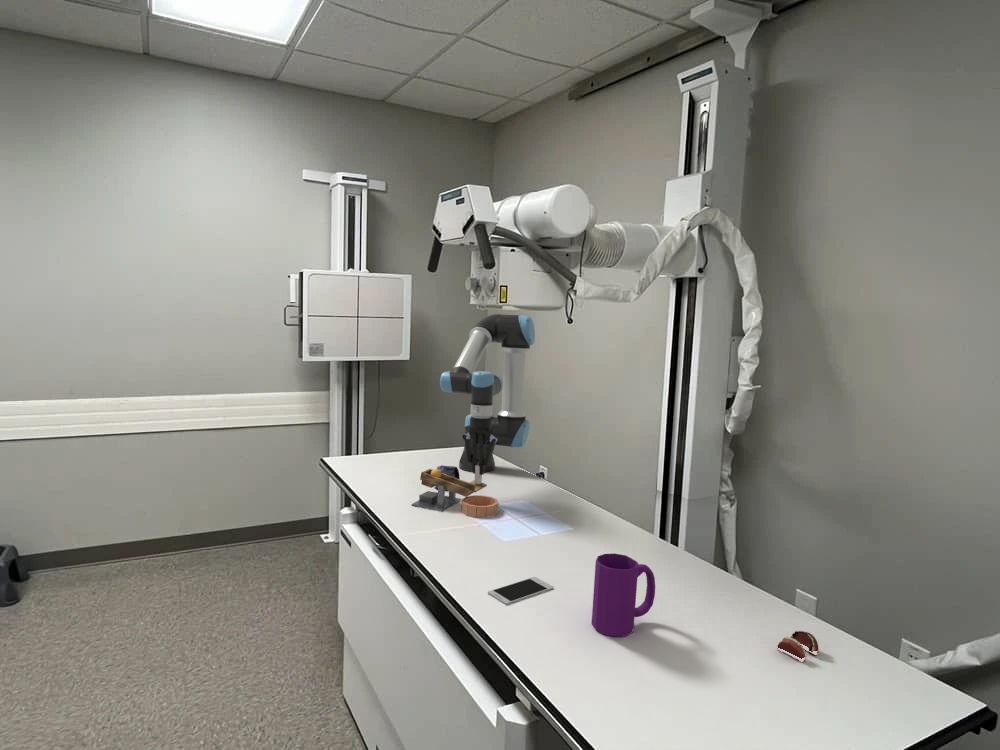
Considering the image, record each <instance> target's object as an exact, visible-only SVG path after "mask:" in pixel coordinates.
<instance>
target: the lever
mask: <svg viewBox="0 0 1000 750" xmlns="http://www.w3.org/2000/svg"><path fill="white" fill-rule="evenodd" d="M432 470H434V469H432V468H428V469H426V470H424V471H421V474H420V478H419V480H420V481H421V485H422V486H425V487H427V488H431V489H432V488H434V486H438V485H445V489H446V490H445V491H448V492H449V491H452V492H454V493H456V494H457V495H460V496H462V497H464V498H465V497H468V496H471V495H472V494H473V493H477V492H479V491H481V490H482V489H484V488H486V487H487V486H488V484H487V483H484V482H482V483H480V484H475V479H473V480H472V481H470V482H468V481H466V480H463V479H457V478H455V477H452V476H449V475H446V474H444V473H441V477H440V478H438V477H435V476H432V475H431V471H432Z"/></svg>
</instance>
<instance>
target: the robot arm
mask: <svg viewBox="0 0 1000 750" xmlns="http://www.w3.org/2000/svg"><path fill="white" fill-rule="evenodd" d="M535 333H536V332H535V325H534V322H533V319H532V318H531V316H528V315H521V314H503V313H502V314H501V313H500V314H499V313H494V314H490V315H487V316H485V317H483V318H481V319H480V320H478V321H477V322H476V323H475V324H474V325H473V326H472V328H471V330H470V331H469V334H468V338H469V339H468V340H467V342H466V344H465V346H464V347H463V350H462V351H461V354H460V355H459V357H458V359H457V361H456V363H455V364H454V366H453V368H452V370H451V371H449V370H448V371H444V372H442V373H441V375H440V379H439V385H440V386H439V387H440V390H441V391H442V392H445V393H451V394H460V395H461V394H462V395H463V394H464V395H470V414H467V415H466V416H465V422H464V434H462V439H463V441H464V442H463V450H462V453H461V456H460V458H459V462H458V469H460V470H463V471H465V472H470V473H471V472H472V473H473V474H474V480H475V484H480V483H483V482H482V480H483V475H484V474H485V473H486V472H491V471H494V470H495V468H496V462H495V458H494V455H493V454H494V450H495V447H496V446H499V447H508V448H509V447H510V448H523V447H524V445H525V444H526V442H527V439H528V435H529V431H530V420H529V419H526V418H527V416H526V413H524V411H523V405H524V402H523V401H524V390H525V389H524V387H525V386H524V385H525V371H526V354H527V352H528V351H529V350H530V348H531V346H533V345H534V344H535V338H536V337H535V336H536V334H535ZM492 343H498V344H501V349H502V350H503V352H504V359H503V360H504V361H503V375H502V376H503V377H501V376H499V375H497V374H495V373H493V372H491V371H485V370H483V371H481V370H478V371H475V370H476V368H477V367H478V364H479V362H480V361H481V358H482V356H483V355H484V353H485V350H486V349H487V347H489V346H490V345H491V344H492ZM502 378H503V379H502ZM501 391H502V392H501ZM500 392H501V393H502V395H501V408H500V409H501V410H499V411H498V413H497V416H494V413H493V399H494V396H496V395H498V394H500Z"/></svg>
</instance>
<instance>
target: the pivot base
mask: <svg viewBox="0 0 1000 750" xmlns="http://www.w3.org/2000/svg"><path fill="white" fill-rule="evenodd" d="M456 494H457V493H454V492H452V491H449V490H448V495H446V490H445V485H438V488H437V492H435V491H431V490H428V491H425V492H424V493H421V494H419V495H418V498H419V499H418V500H417V501H415V502H413V503H411V506H412V507H416V508H422V509H427V510H432V511H437V512H443V511H445V510H447V509H448V508H450V507H452V506H454V505H456V504H458V503H459V502H462V498H459V497H456Z"/></svg>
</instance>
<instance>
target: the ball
mask: <svg viewBox="0 0 1000 750" xmlns="http://www.w3.org/2000/svg"><path fill="white" fill-rule="evenodd" d="M431 475H432V476H435V477H438V478H440V477H441V471H440V470H438V469H437V468H434V469H433V470H432V471H431Z"/></svg>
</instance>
